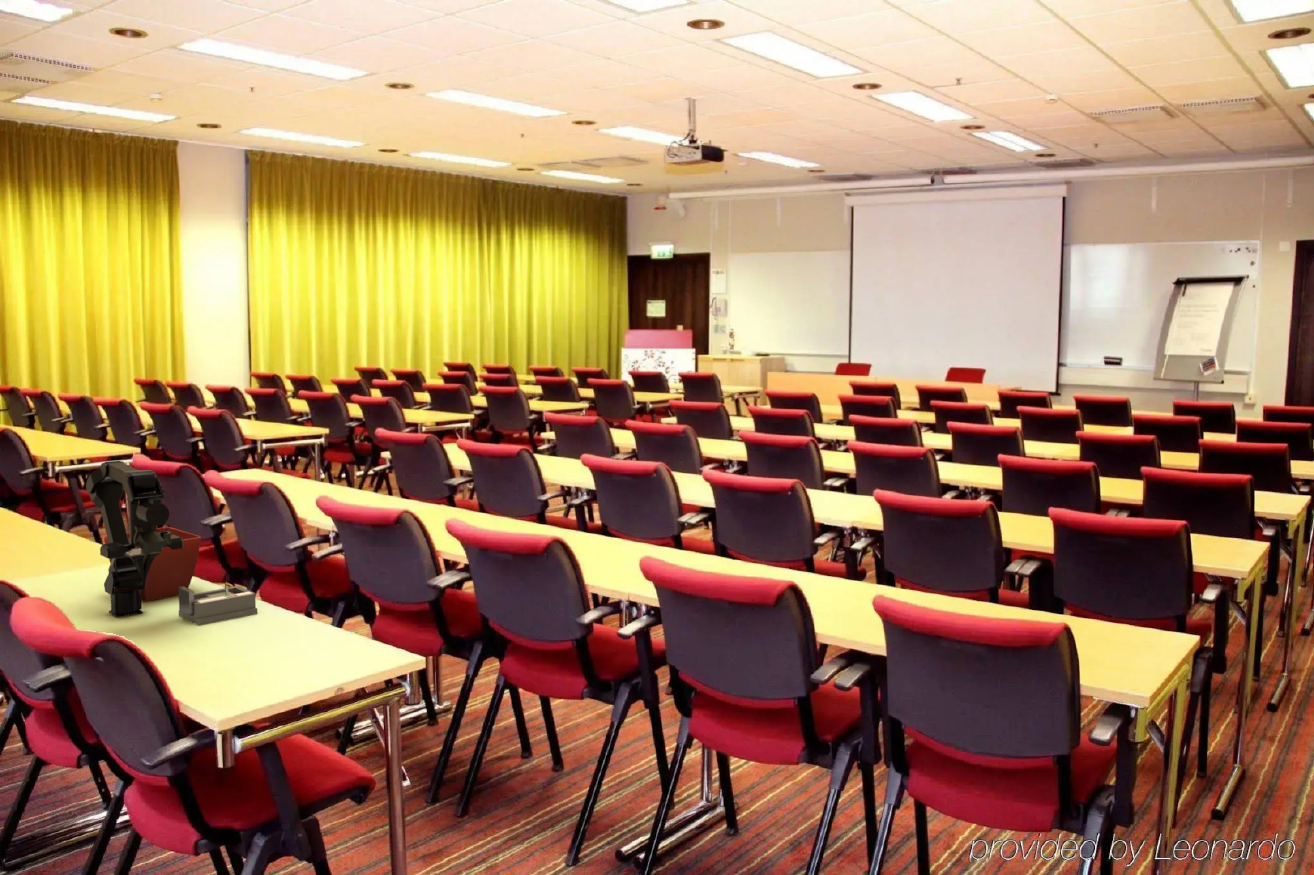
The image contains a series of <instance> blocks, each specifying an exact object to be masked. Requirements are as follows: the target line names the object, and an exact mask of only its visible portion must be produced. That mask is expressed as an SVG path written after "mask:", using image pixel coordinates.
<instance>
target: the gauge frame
mask: <svg viewBox="0 0 1314 875" xmlns="http://www.w3.org/2000/svg"><path fill="white" fill-rule="evenodd" d="M220 592H225V587H224V588H219V589H214V590H213V589H212V590H207V591H202V592H201V591H200V592H196V593H194V600H195V599H201V598H206V595H209V594H215V593H220ZM228 592H231V593H233V594H231V595H225V596H222V597H217V598H211V599H206V600H200V601H197V602H198V603H194V614H190V615H189V614H188V613H186V612H184V611H182V610H180V609H178V616H179V617H180V618H183V619H184V620H187V621H189V622H191V623H193V624H194V623H195V624H194V625H197V626H203V625H208V624H211V623H218V622H222V621H224V622H225V621H228V619H229V620H233V619H238V618H243V617H247V616H254V615H258V607H256V604H257V603H256V602H257V601H256V593H255V592H254V591H251V590H249V589H247V588H244V587H242V586H240V585H235V586H233V587H231V588H230V587H228Z"/></svg>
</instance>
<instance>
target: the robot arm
mask: <svg viewBox="0 0 1314 875" xmlns="http://www.w3.org/2000/svg"><path fill="white" fill-rule="evenodd" d="M85 489H86V492H87V494H89V497H90V500H91V502H92V503H93V504H94V505H95V506H96V507H98V508H99V509H100V513H101V517H102V521H103V525H104V529H105V533H106V536H107V538H108V542H109V543H108V544H105V543H103V544H101V546H100V548H99V551H100V552H99V553H100V554H99V555H100V556H102V557H104V558H106V559H108V560H109V559H112V561H111V563H110V565H109V567H108V569H107V570H108V573H107V576H106V579H105V581H104V583H103V587H104V592H105V593H107V594H109V595H110V610H108V613H109V614H111V615H112V616H114V617H116V618H122V617H128V616H133V615H139V614H142V613H143V610H142V601H141V594H139V590H144V588H145V582H146V577H147V575H148V572H149V569H150V566H151V564H152V562H153V560H154V558H155V557H156V556H157V555H160V554H161V552H162V551H163V547H167V546H168V547H169V548H170V549H172V550H174V549H181V548H184V542H183V539H182V538H181V537H178V536H176V535H171V533H170V532H169V531H164V532H159V533H158V531H157V528H158V527H159V526H162V525H164V524H165V523H166V522H167V521H168V520H169V517H170V511H169V509H168V506H166V505H165V504H163V503H162V500H161V499H164V492H165V490H164V488H163V486H162V483H161V481H160V479H159V477H158V475H157V474H156V472H155V471H154V470H152V469H151V470H150V469H149V470H148V469H146V470H145V469H142V470H139V469H136V468H134V467H132V466H130V465H128V464H126V463H125V462H124V461H123V460H111V461H110V460H109V461H108V460H107V461H104V462H102V463H101V465H100V467H98V468H97V469H96V470H94V471H93V472H91V473H90V474H89V476H88V478H87V480H86V482H85ZM124 492H125V495H126V496H127V501H128V512H129V513H128V515H129V516H128V517H129V518H128V520H129V521H128V523H127V528H129V533H130V538H129V539H128V536H127V533H128V532H127V529H126V524H125V520H124V517H123V513H122V510H121V505H120V502H121V499H122V497H123V495H124ZM129 543H130V544H129ZM135 547H136V548H135Z"/></svg>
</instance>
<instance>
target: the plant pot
mask: <svg viewBox="0 0 1314 875" xmlns="http://www.w3.org/2000/svg"><path fill="white" fill-rule="evenodd" d="M157 531H158V533H159V532H164V531H169V532H170V533H171V535H176V536H178V537H181V538H182V539H183V542H184V548H181V549H174V550H172V549H170V548H169V547H168V546H167V547H163V551H162V552H161V554H160V555H157V556H156V557H155V558H154V560H153V562H152V564H151V566H150V569H149V572H148V575H147V577H146V582H145V588H144V590H139V594H141V602H151V601H155V600H160V599H165V598H169V597H173V596H179V587H186V588H188V589H189V587H190V584H191V582H192V578H193V577H194V573H195V569H196V567H197V566H196V565H197V562H198V558H199V552H200V546H201V541H202V540H201V539H202V537H201V535H197V534H193V533H191V532H188V531H183V530H180V529H178V528H173V527H171V526H164V527H157ZM127 536H128V539H129V538H130V532H127ZM103 540H104V544H108V543H109V542H108V538H107V535H106V536H104V537H103ZM129 544H130V543H129ZM135 548H136V547H135ZM108 560H109V562H110V564H111V561H112V559H108Z"/></svg>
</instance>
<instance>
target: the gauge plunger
mask: <svg viewBox="0 0 1314 875" xmlns="http://www.w3.org/2000/svg"><path fill="white" fill-rule="evenodd" d="M229 587H230V588H231V587H234V585H233V584H231V583H229V582H225V583H224V588H225V592H220V593H215V594H209V595H206V598H201V599H195V600H194V594H195V593H194V590H191V589H189V587H188V588H186V587H179V595H178V610H182V611H184V612H186V613H188V614H189V615H190V614H194V603H198V602H197V601H200V600H206V599H211V598H217V597H222V596H225V595H231V594H233V593H231V592H228V588H229Z"/></svg>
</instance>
